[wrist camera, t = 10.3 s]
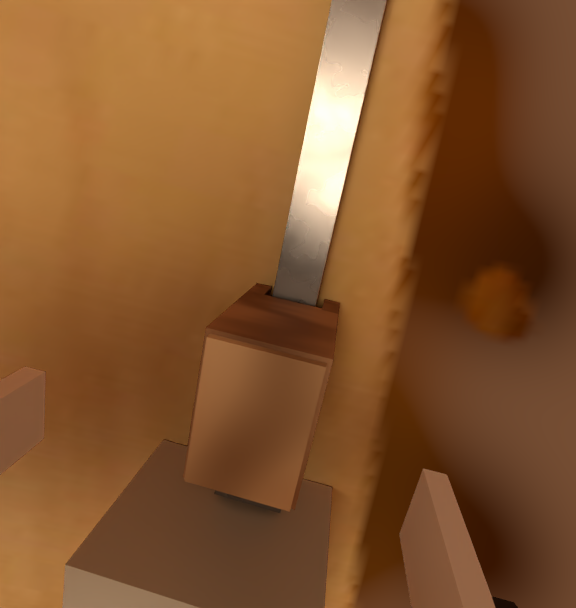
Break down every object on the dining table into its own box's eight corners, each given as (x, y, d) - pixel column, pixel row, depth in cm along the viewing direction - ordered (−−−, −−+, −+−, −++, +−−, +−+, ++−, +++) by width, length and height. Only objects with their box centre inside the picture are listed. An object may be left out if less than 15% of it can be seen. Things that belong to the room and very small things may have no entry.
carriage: (237, 387, 26) (178, 483, 17) (257, 283, 24) (202, 330, 15) (313, 407, 25) (293, 517, 16) (339, 302, 23) (332, 363, 15)
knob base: (148, 550, 31) (56, 710, 21) (163, 439, 28) (65, 564, 18) (301, 598, 29) (276, 788, 20) (332, 487, 27) (321, 646, 17)
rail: (233, 452, 27) (214, 493, 23) (400, -406, 16) (415, -596, 12) (290, 468, 27) (280, 513, 23) (501, -399, 16) (550, -594, 12)
